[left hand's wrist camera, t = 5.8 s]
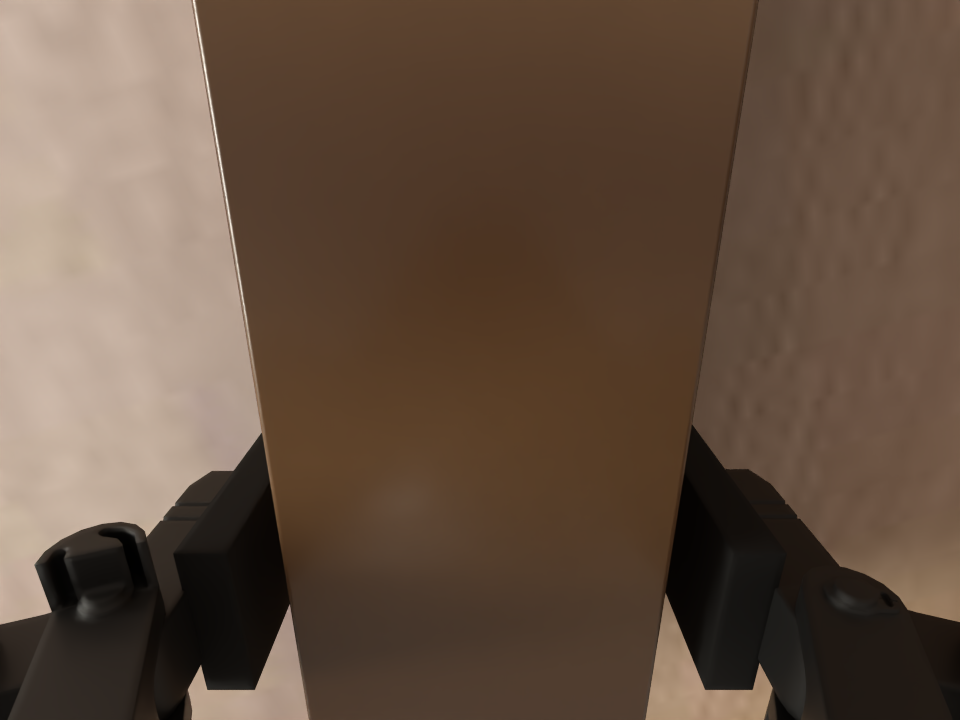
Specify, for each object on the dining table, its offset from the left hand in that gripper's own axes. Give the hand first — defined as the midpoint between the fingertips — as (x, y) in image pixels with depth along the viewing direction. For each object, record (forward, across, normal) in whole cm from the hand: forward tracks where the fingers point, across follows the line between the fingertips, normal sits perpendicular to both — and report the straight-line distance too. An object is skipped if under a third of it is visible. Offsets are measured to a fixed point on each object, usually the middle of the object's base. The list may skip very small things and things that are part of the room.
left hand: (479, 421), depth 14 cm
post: (+1, 0, -22) cm, 22 cm away
